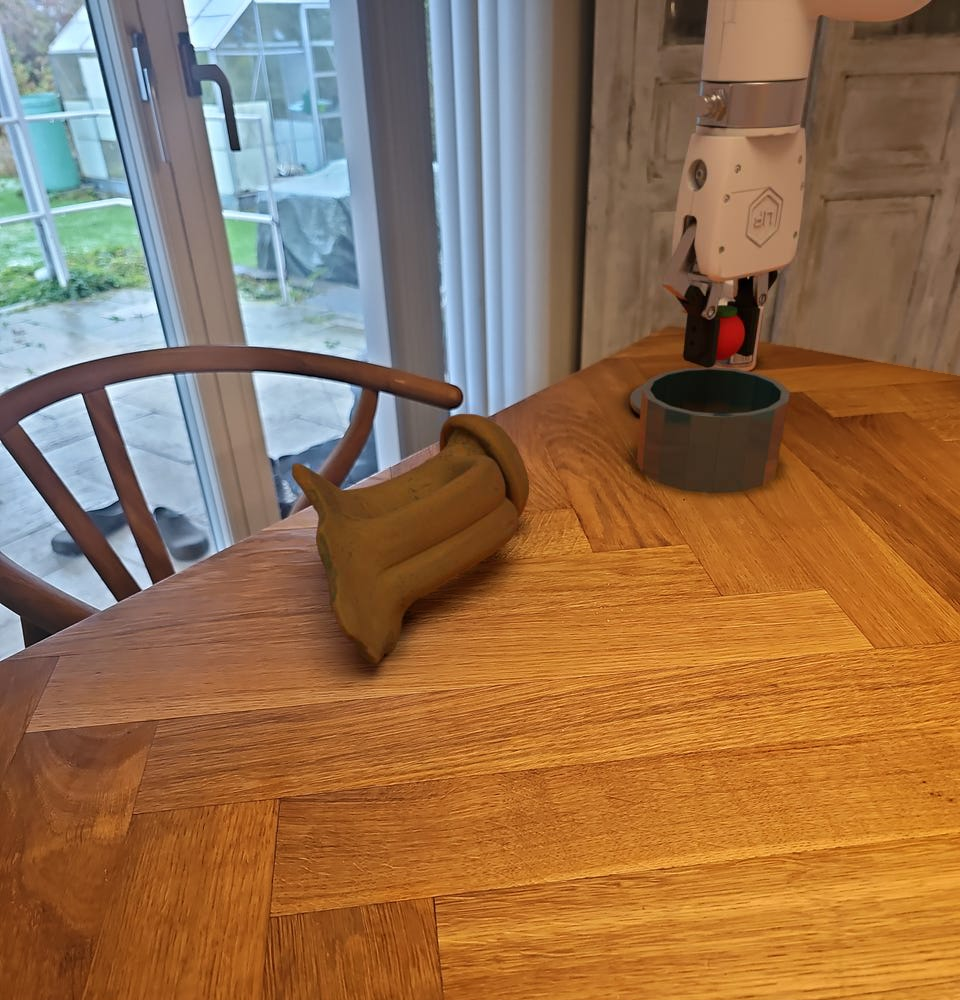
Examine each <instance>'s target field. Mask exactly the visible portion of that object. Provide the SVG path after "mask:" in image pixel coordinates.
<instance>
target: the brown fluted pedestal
mask: <svg viewBox="0 0 960 1000" xmlns="http://www.w3.org/2000/svg"><path fill="white" fill-rule="evenodd" d="M440 429H441V430H440V432H439V442H438V443H439V452H438V453H437V454H435V455H434V456H432V457H429V458H428V459H426V460H425V461H424V462H422V463H421V464H419V465H417V466H415V467H413V468H411V469H410V470H408V471H405V472H403V473H401V474H399V475H397V476H395V477H393V478H392V477H391V478H390V479H387V480H384V481H382V482H379V483H376V484H373V485H369V486H365V487H360V488H359V487H358V488H352V489H341V488H340V487H338V486H336V485H335V484H333V483H332V482H330V481H329V480H328V479H326V478H324V477H323V476H322V475H320V474H319V473H317V472H315V471H313V470H312V469H311V468H309V467H307V466H305V465H304V464H302V463H299V462H295V463H293V464H292V466H291V476H292V478H293V480H294V482H296V484H297V485H298V486H299V488H300V490H302V492H303V494H304V495H305V497H306V498H307V499H308V501H309V502H310V504H311V506H312V508H313V509H314V510H315V512H316V513H317V517H318V521H317V528H316V533H315V534H316V536H315V542H316V548H317V552H318V555H319V558H320V561H321V563H322V565H323V568H324V571H325V576H326V580H327V586H328V592H329V602H330V608H331V610H332V612H333V614H334V617H335V619H336V623H337V625H338V628H339V630H340V631H341V633H342V634H343V636H344V637H345V639H346V640H347V641H349V642H350V643H351V644H352V645H353V646H354V647H355V649H356V650H357V651H358V652H359V653H360V655H361V656H362V657H363V658H364V659H365V661H368V662H369V663H371V664H379V662H380V661H381V660H382V659H383V657H384V655H389V654H392V652H394V651H395V649H396V646H397V643H398V641H399V639H400V637H401V633H402V629H403V618H404V615H405V613H406V612H407V610H408V608H410V606H411V605H412V604H413V603H415V602H416V601H418V600H419V599H421V598H423V597H425V596H426V595H428V594H430V593H433V592H435V591H436V590H437V589H439V588H440V587H443V586H444V585H446V584H448V582H450V581H451V580H452V579H454V578H456V577H458V576H459V575H460V574H463V573H464V572H466V571H467V570H470V569H471V568H473V567H475V566H476V565H478V564H479V563H481V562H482V561H484V560H486V559H487V558H489V557H490V556H492V555H494V554H495V553H496V552H498V551H499V550H501V549H502V548H503V547H504V546H506V545H507V544H508V543H509V542H510V541H511V540H512V539H513V538H514V535H515V533H516V531H517V528H518V526H519V519H520V517H521V515H522V514H523V513H524V509H525V507H526V505H527V503H528V498H529V495H530V480H529V475H528V471H527V467H526V464H525V462H524V460H523V457H522V455H521V453H520V450H519V449H518V447H517V445H516V443H515V442H514V440H513V439H512V438H511V436H510V435H509V434H508V433H507V432H506V431H505V430H504V428H503V427H501V426H500V425H499V424H498V423H497V422H495V421H494V420H492V419H489V418H488V417H485V416H483V415H480V414H477V413H476V414H475V413H456V414H453V415H452V416H449V417H448V418H446V420H445V421H444V422H443V424H442V427H441V428H440Z"/></svg>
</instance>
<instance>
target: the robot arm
mask: <svg viewBox="0 0 960 1000" xmlns="http://www.w3.org/2000/svg"><path fill="white" fill-rule="evenodd" d="M931 1H932V0H708V1H707V10H706V21H705V22H706V23H705V32H704V41H703V42H704V43H703V53H702V61H701V62H702V64H701V73H700V81H699V94H698V96H697V97H696V98H695V99H694V102H693V113H694V115H695V116H696V124H695V132H693V133H691V137H690V139H689V144H688V147H687V151H686V156H685V160H684V164H683V169H682V173H681V179H680V184H679V190H678V195H677V201H676V207H675V215H674V216H675V217H674V223H673V231H672V232H673V233H672V242H671V243H672V244H671V259H670V261H669V263H668V265H667V267H666V269H665V271H664V273H663V274H662V277H661V281H660V282H661V286H662V287H663V288H665V290H667V291H668V292H670V293H671V294H672V295H674V296H675V297H676V299H677V300H678V302H679V303H680V304H681V312H683V313H684V314H686V322H685V323H686V324H685V331H684V343H683V344H684V345H683V353H682V358H683V360H684V361H686V362H687V361H688V362H691V363H694V364H697V365H700V366H703V367H706V368H709V367H712V366H714V365H715V362H716V355H717V347H718V339H719V331H720V323H721V322H720V319H721V318H717V317H714V316H715V315H716V312H717V308H718V303H719V300H721V295H722V292H723V291H722V290H723V288H724V283H725V281H730V280H733V298H734V300H735V301H728V302H727V306H733V307H735V308H737V314H736V315H737V316H738V317H739V318H740V319H741V321H742V323H743V325H744V329H745V337H744V341H743V344H742V346H741V348H740V349H739V350H738V352H737V353H736V354H739V355H742V356H745V357H748V356H751V355H753V353H754V349H755V342H756V335H757V329H758V322H759V315H760V309H761V308H759V307H763V306H765V305H766V304H767V301H768V299H769V298H768V297H769V296H768V295H769V291H770V290H771V288H772V286H773V285H774V284H775V282H776V281H777V279H778V276H779V275H780V274H781V273H782V272H783V271H785V269H786V268H787V267H788V266H789V265H790V264H791V262H793V260H794V259H795V256H796V253H797V249H798V243H799V237H800V231H801V230H800V229H801V222H802V216H803V215H802V214H803V206H804V205H803V204H804V197H805V196H804V194H805V183H806V167H807V166H806V165H807V154H806V153H807V142H806V141H807V140H806V139H807V138H806V128H805V127H801V124H802V123H801V122H802V117H803V111H804V105H805V100H806V92H807V87H808V86H807V85H808V77H809V72H810V66H811V61H812V53H813V49H814V48H813V47H814V42H815V35H816V30H817V29H816V28H817V23H818V19H819V17H820V16H824V17H826V18H829V19H831V20H833V21H842V22H864V23H882V22H891V21H894V20H895V21H896V20H899V19H901V18H905V17H907V16H909V15H911V14H913V13H915V12H917V11H919V10H921V9H922V8H923V7H925V6H926V5H928V4H929V3H930V2H931ZM748 277H749V278H748ZM702 284H706V285H707V287H706V290H705V294H704V292H703V290H702V289H701V288H702V286H703V285H702Z"/></svg>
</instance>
